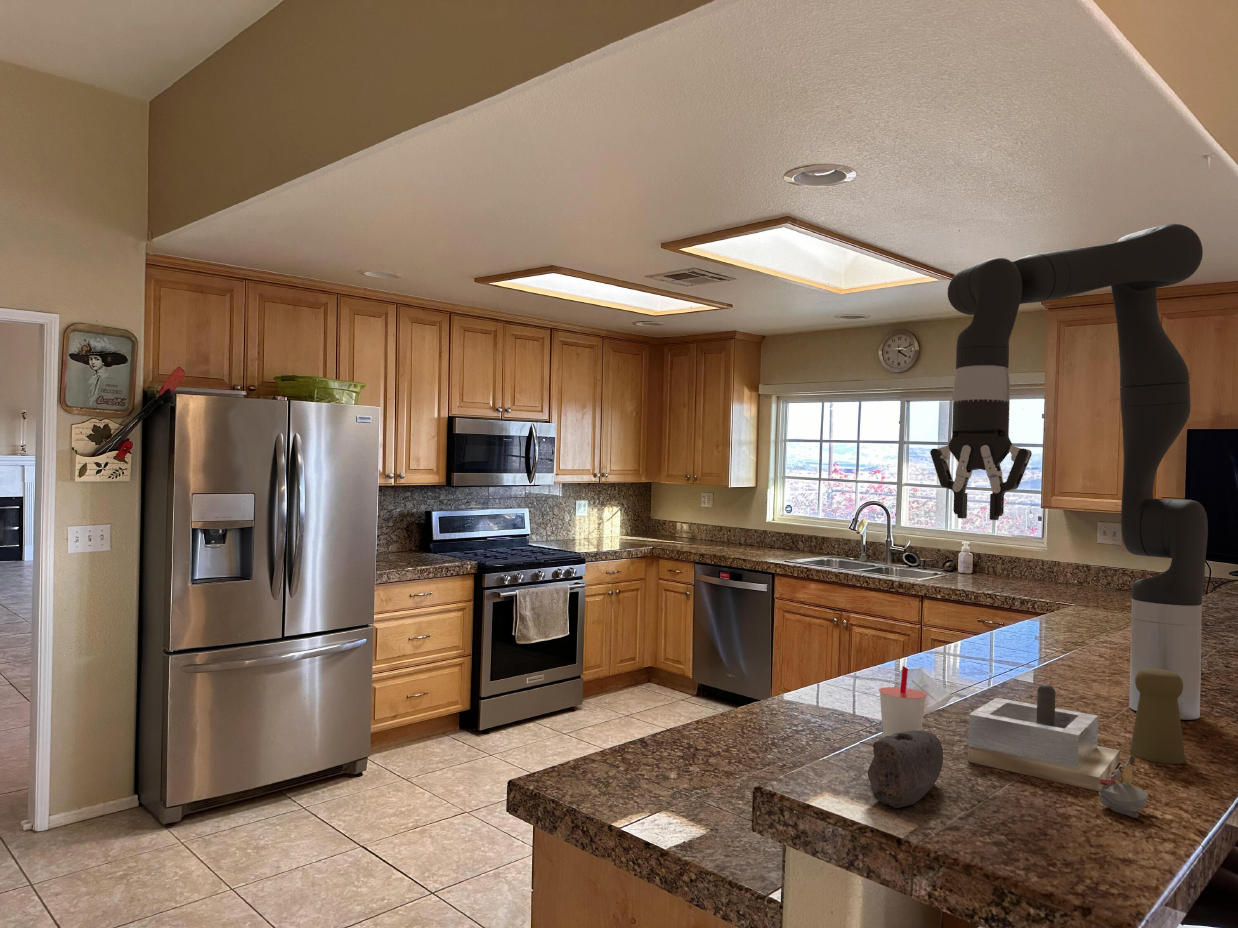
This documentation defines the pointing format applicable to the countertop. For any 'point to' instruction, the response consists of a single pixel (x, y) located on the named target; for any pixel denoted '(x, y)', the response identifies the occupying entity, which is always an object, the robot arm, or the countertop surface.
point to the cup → (901, 708)
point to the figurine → (1122, 791)
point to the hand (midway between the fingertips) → (977, 518)
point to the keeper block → (1082, 778)
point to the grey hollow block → (1033, 733)
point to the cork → (1158, 717)
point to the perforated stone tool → (905, 767)
